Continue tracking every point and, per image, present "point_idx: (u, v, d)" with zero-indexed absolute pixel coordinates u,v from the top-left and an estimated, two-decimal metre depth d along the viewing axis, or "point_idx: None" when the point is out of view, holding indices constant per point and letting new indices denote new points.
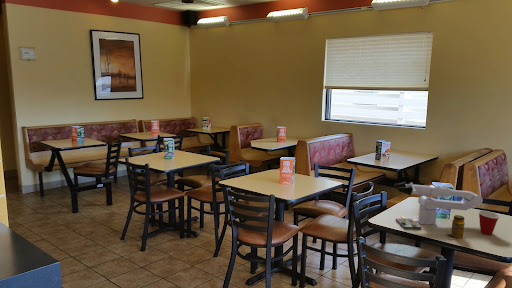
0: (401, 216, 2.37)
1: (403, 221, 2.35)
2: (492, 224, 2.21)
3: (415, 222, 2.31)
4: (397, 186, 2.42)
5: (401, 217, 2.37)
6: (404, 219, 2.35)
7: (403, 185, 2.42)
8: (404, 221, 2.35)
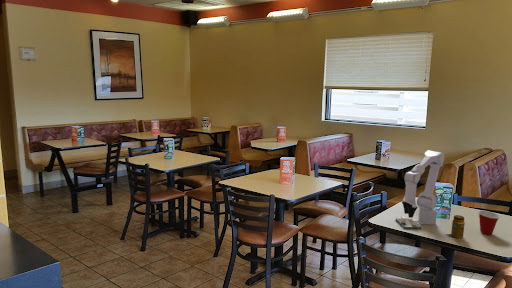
0: (401, 216, 2.37)
1: (403, 221, 2.35)
2: (492, 224, 2.21)
3: (415, 222, 2.31)
4: (407, 210, 2.31)
5: (401, 217, 2.37)
6: (404, 219, 2.35)
7: (405, 204, 2.30)
8: (404, 221, 2.35)
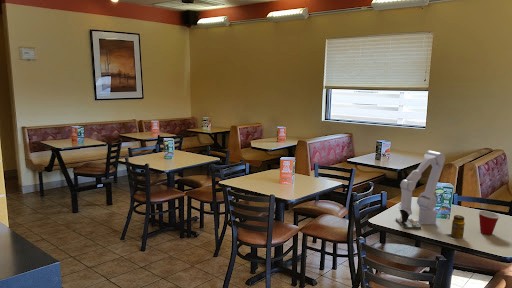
0: None
1: None
2: (492, 224, 2.21)
3: (415, 222, 2.31)
4: None
5: (400, 216, 2.38)
6: None
7: None
8: None
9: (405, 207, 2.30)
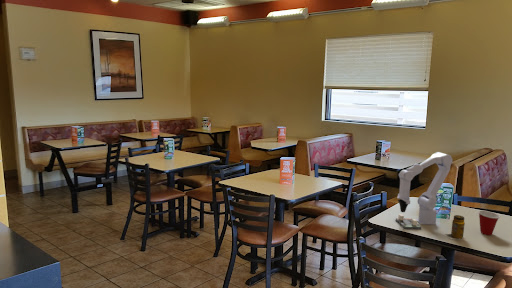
0: (399, 214, 2.41)
1: (401, 219, 2.39)
2: (492, 224, 2.21)
3: (415, 222, 2.31)
4: None
5: (399, 215, 2.41)
6: (402, 217, 2.39)
7: None
8: (402, 219, 2.39)
9: (403, 197, 2.33)
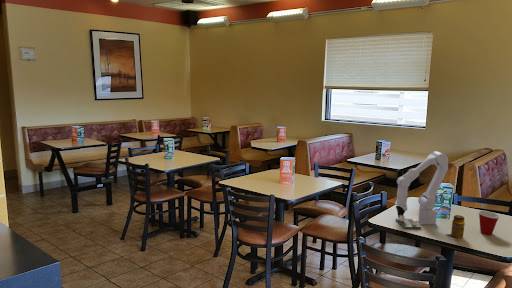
0: (400, 215, 2.40)
1: (402, 220, 2.37)
2: (492, 224, 2.21)
3: (415, 222, 2.31)
4: (400, 214, 2.41)
5: (400, 216, 2.39)
6: (403, 218, 2.37)
7: None
8: (403, 220, 2.37)
9: (401, 203, 2.37)
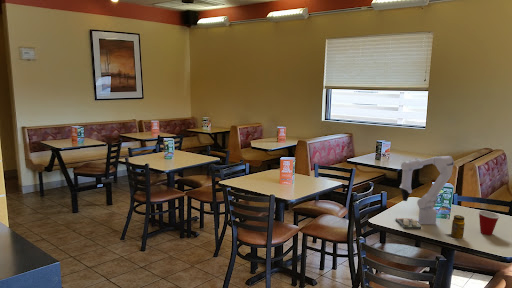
0: None
1: (406, 224, 2.31)
2: (492, 224, 2.21)
3: (415, 222, 2.31)
4: None
5: None
6: (407, 221, 2.31)
7: None
8: (407, 224, 2.31)
9: (405, 186, 2.49)
